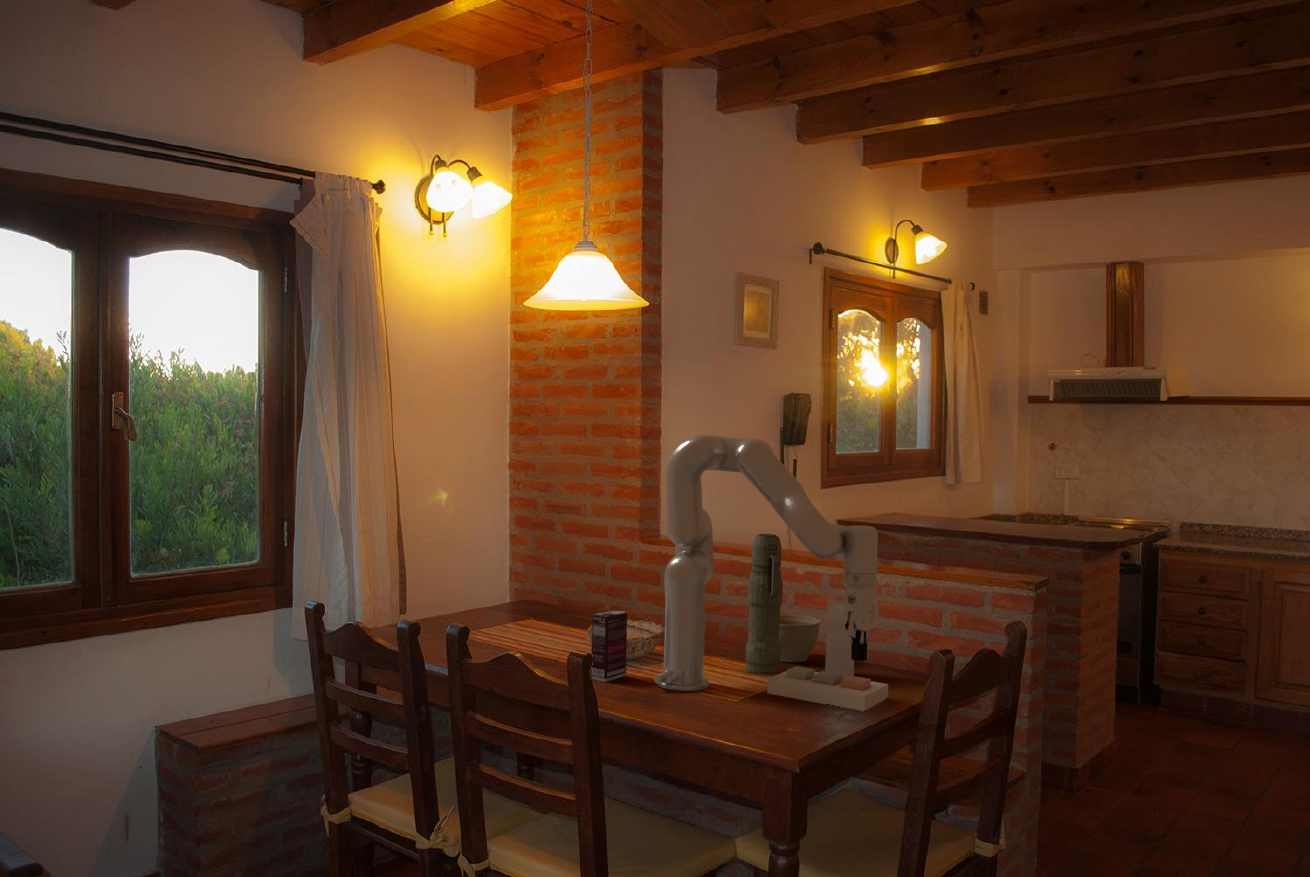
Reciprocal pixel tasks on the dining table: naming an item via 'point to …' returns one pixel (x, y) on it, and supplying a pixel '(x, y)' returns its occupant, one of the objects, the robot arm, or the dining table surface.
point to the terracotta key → (856, 683)
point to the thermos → (764, 606)
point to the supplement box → (609, 645)
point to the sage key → (800, 673)
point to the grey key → (827, 678)
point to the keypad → (827, 692)
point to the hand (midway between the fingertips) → (859, 659)
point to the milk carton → (837, 641)
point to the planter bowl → (797, 637)
